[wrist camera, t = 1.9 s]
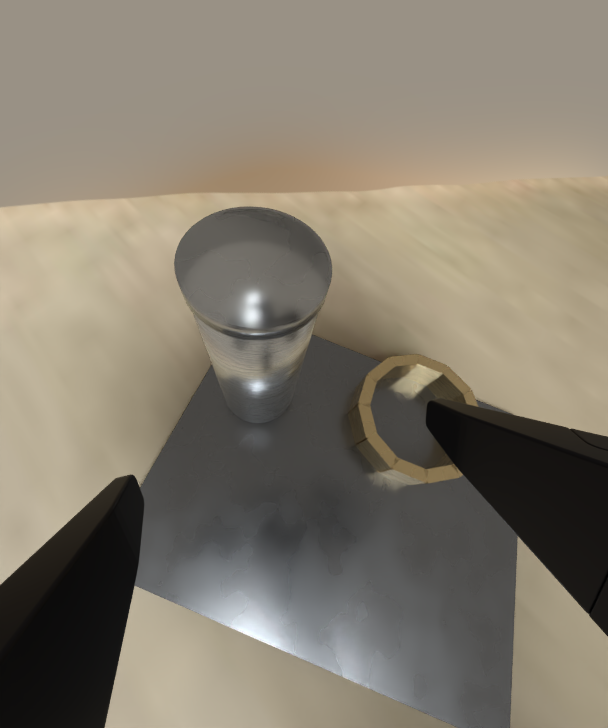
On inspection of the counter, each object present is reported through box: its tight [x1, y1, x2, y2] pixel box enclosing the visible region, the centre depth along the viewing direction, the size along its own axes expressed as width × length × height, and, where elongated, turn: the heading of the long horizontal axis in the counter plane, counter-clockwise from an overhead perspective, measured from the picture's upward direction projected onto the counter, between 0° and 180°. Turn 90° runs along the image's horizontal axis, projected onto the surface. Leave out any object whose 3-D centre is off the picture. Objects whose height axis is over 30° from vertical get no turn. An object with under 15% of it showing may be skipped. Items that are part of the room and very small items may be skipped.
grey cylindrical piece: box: [174, 207, 332, 423], centre depth 16 cm, size 5×5×13 cm
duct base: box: [135, 335, 518, 728], centre depth 19 cm, size 19×24×3 cm
